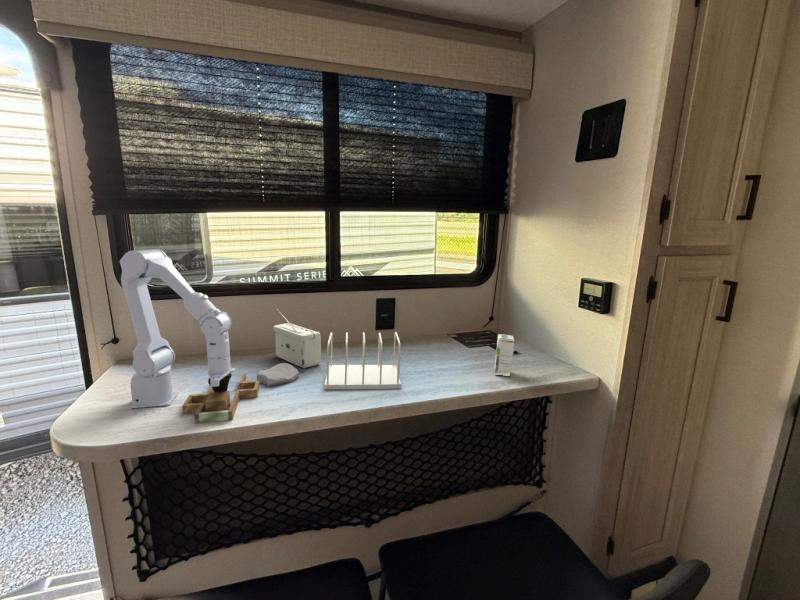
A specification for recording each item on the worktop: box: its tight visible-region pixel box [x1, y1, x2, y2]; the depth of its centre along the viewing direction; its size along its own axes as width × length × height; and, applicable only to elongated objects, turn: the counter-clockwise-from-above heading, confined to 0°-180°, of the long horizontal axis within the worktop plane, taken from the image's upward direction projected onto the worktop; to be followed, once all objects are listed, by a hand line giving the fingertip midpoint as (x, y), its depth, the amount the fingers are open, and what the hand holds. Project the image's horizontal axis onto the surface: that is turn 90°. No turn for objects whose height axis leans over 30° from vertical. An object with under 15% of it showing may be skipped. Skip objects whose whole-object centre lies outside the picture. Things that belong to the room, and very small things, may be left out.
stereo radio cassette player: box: [272, 308, 322, 369], centre depth 141 cm, size 21×8×20 cm, turn 50°
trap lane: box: [181, 373, 261, 424], centre depth 110 cm, size 18×27×2 cm
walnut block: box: [205, 390, 231, 412], centre depth 102 cm, size 5×6×4 cm
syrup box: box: [494, 333, 515, 374], centre depth 135 cm, size 6×6×14 cm
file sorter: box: [323, 331, 402, 390], centre depth 127 cm, size 25×17×16 cm
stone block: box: [256, 362, 300, 387], centre depth 125 cm, size 12×5×10 cm
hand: (221, 399), depth 107 cm, fingers closed
